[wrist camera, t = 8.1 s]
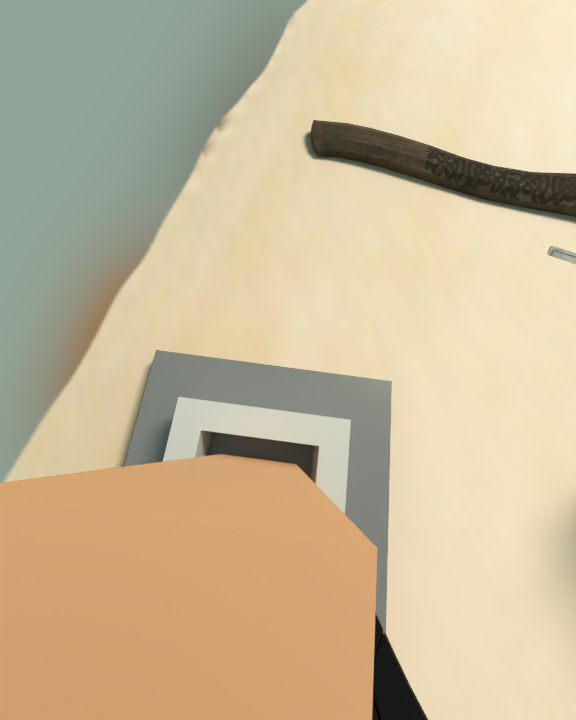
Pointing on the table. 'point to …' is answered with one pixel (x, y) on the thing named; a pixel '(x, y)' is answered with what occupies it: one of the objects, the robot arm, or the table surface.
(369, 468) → the housing
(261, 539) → the tan square peg
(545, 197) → the axe
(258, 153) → the table surface
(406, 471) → the table surface
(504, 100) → the table surface
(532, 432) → the table surface
